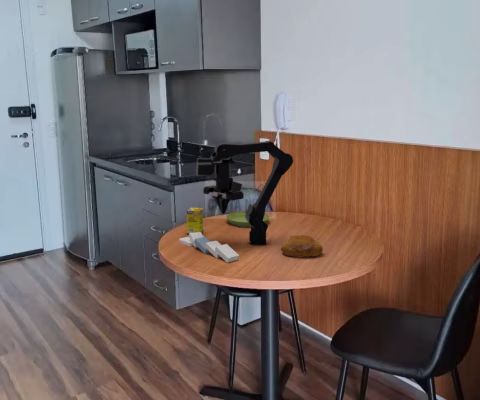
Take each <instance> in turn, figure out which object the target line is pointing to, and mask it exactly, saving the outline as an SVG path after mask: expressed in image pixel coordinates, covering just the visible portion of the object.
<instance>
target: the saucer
mask: <svg viewBox="0 0 480 400" xmlns="http://www.w3.org/2000/svg"><path fill="white" fill-rule="evenodd" d="M245 211H246V210H244V211H242V210H241V211H234V212H230V213H228V214H226V216H225V217H226V220H227V221H228V222H229V223H230V224H231V225H233V226H237V227H244V228H251V227H252V226H251V225H250V224H249V223H248V221H247V220H246V218H245V215H246V213H245ZM269 219H270V215H269V214H266V213H265V215H264V218H263V221H264V222H265V223H266V224H267V222H268V221H269Z"/></svg>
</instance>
